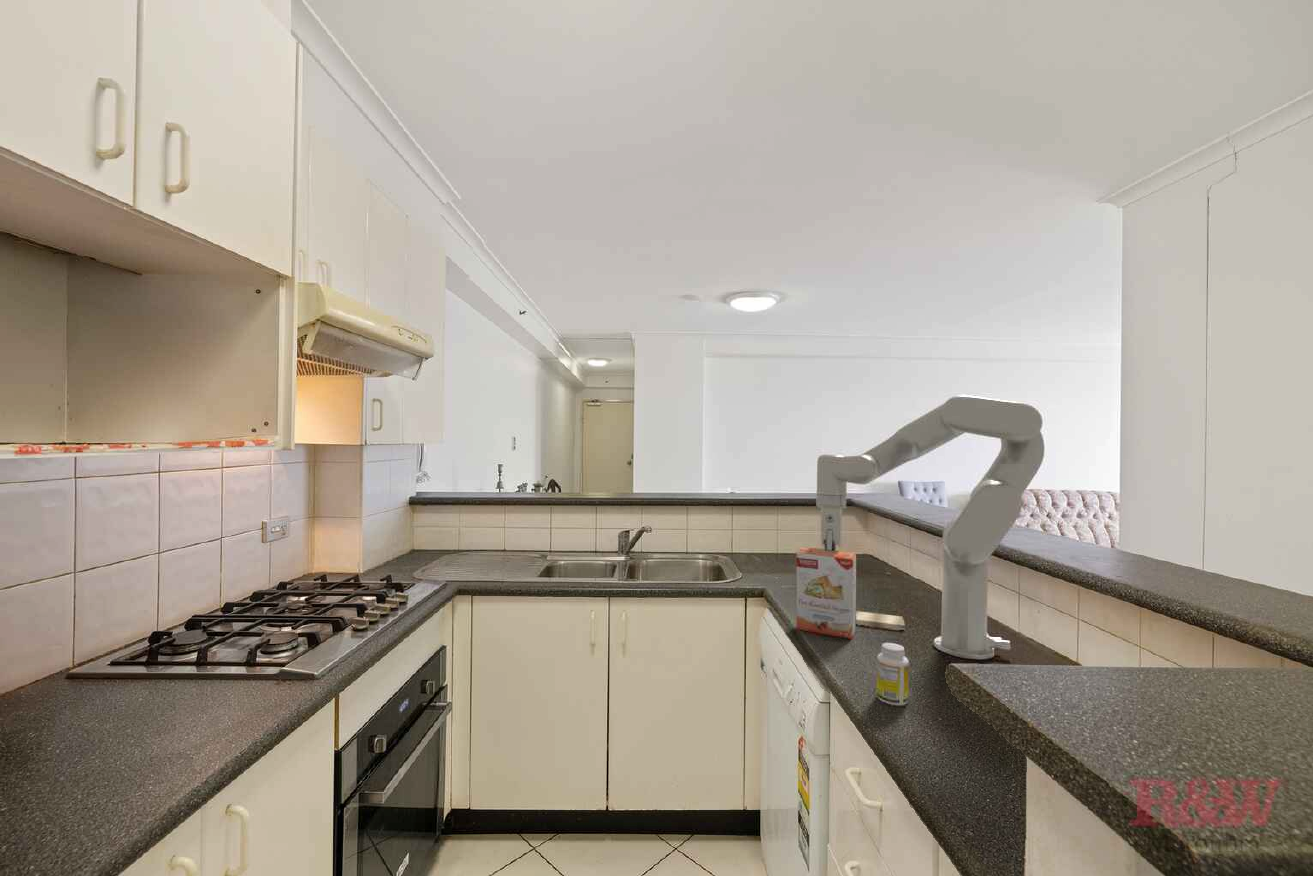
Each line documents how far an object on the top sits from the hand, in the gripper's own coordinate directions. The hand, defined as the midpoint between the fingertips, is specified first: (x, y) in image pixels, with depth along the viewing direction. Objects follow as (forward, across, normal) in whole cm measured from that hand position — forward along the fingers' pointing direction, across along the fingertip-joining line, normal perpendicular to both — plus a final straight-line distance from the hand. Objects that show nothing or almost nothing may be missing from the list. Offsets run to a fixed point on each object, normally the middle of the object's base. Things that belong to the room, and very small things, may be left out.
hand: (829, 570), depth 146 cm
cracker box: (+15, -4, 0) cm, 15 cm away
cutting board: (+15, +10, -13) cm, 22 cm away
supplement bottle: (+15, -38, -13) cm, 43 cm away
